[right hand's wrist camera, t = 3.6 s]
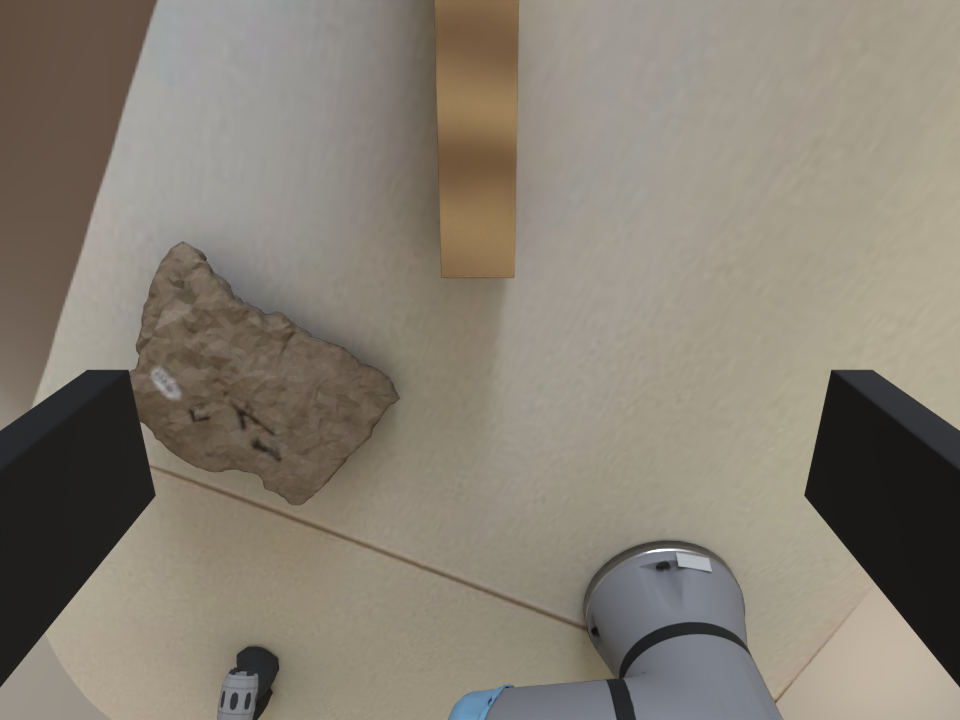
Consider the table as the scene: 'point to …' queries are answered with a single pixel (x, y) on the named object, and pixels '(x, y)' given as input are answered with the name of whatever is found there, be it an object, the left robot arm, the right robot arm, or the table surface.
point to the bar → (477, 135)
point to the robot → (248, 685)
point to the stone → (248, 384)
